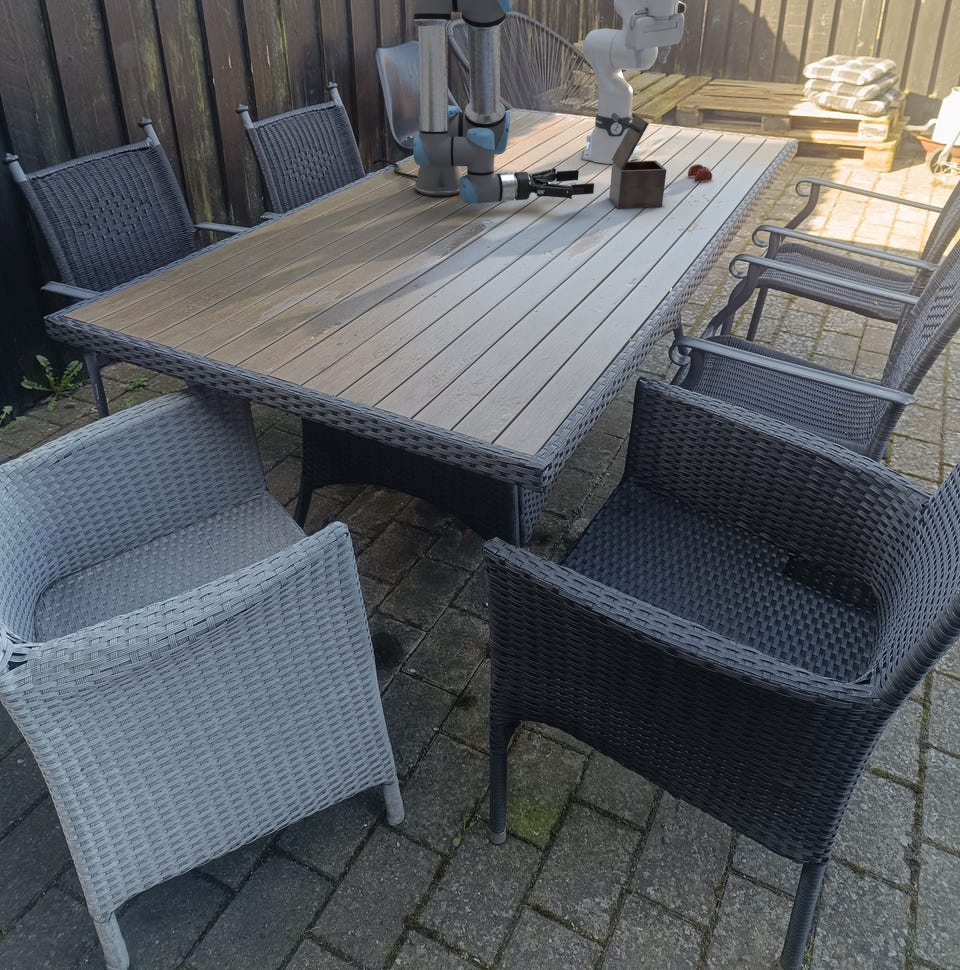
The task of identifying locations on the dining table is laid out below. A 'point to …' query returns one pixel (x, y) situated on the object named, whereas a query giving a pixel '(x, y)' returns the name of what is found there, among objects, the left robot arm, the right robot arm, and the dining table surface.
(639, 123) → the lid
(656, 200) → the chest
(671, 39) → the right robot arm
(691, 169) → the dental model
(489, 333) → the dining table surface
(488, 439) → the dining table surface
